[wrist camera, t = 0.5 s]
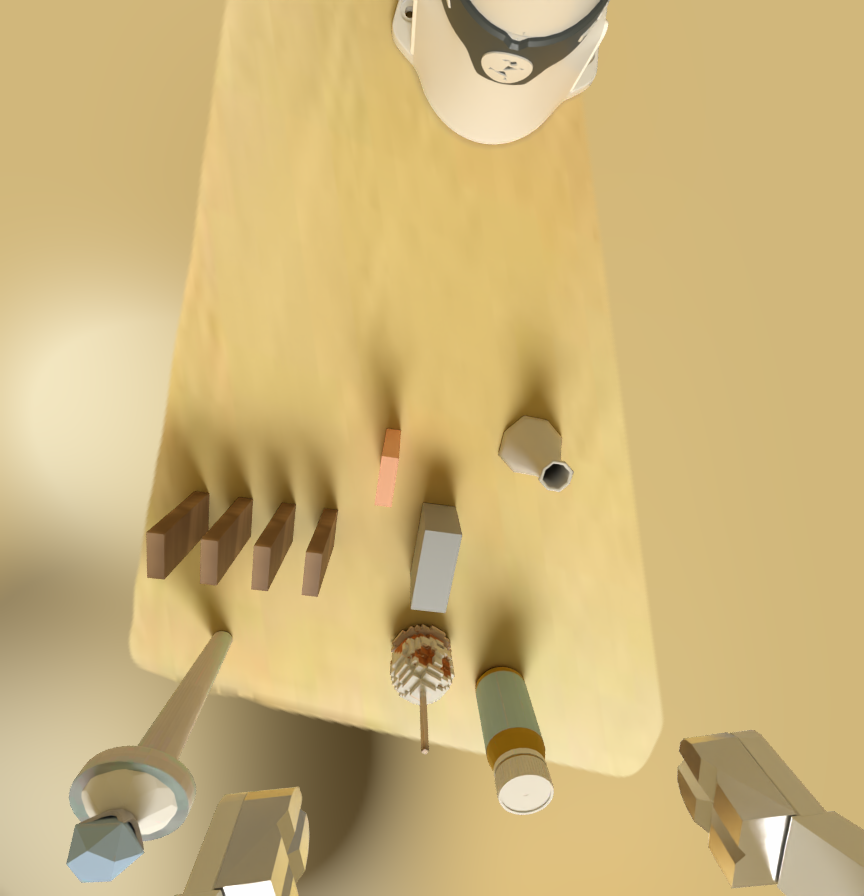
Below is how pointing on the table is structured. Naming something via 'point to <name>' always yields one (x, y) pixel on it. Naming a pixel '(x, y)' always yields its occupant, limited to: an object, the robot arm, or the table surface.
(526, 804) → the bottle
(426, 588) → the end block
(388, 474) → the domino
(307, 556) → the domino
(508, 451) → the flask
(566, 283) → the table surface
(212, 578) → the domino
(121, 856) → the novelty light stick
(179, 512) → the domino
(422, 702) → the decorative ornament
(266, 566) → the domino
